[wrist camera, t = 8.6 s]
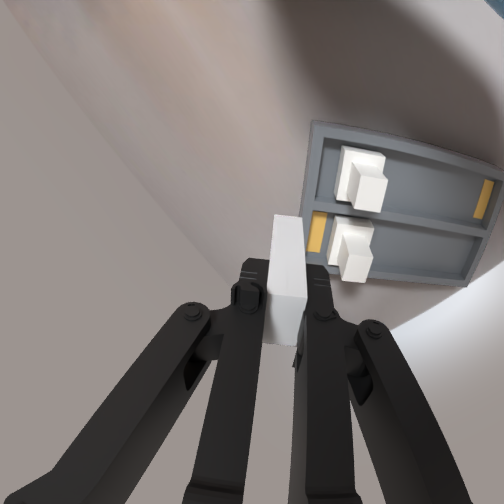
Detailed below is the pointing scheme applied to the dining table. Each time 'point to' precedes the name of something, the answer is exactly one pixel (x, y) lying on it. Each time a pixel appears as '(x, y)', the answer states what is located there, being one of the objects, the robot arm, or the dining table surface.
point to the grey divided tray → (405, 206)
